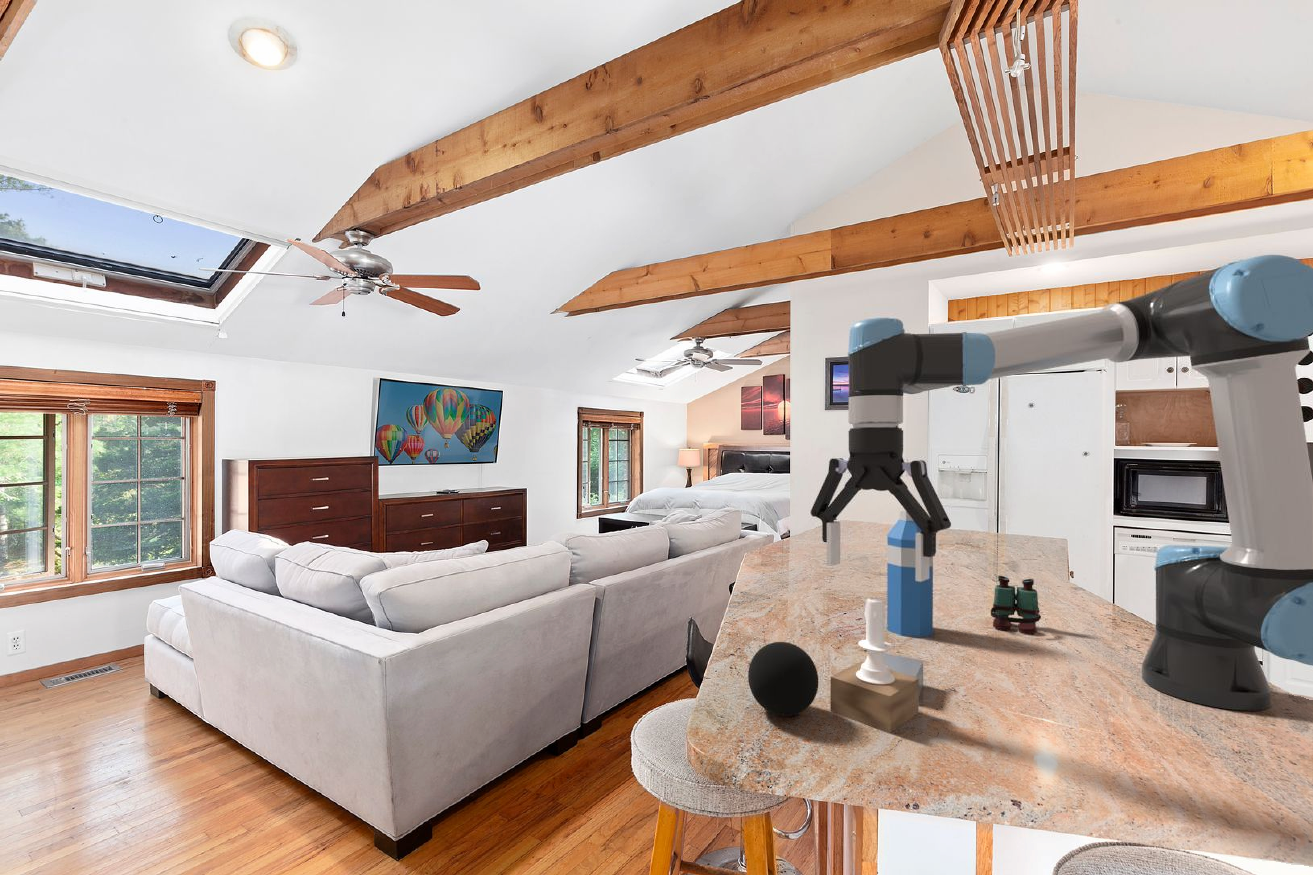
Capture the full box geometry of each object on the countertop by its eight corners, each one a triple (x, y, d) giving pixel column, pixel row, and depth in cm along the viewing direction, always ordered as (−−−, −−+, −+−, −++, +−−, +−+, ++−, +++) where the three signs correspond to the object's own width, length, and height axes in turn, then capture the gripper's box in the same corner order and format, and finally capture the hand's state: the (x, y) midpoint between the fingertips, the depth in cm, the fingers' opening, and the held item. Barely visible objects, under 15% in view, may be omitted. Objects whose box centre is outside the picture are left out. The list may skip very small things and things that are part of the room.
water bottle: (940, 629, 125) (940, 510, 125) (924, 640, 118) (925, 514, 118) (895, 620, 131) (896, 506, 131) (878, 630, 124) (878, 510, 124)
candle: (853, 680, 86) (853, 597, 86) (859, 668, 90) (859, 589, 90) (892, 688, 83) (893, 602, 83) (896, 674, 88) (897, 593, 88)
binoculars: (989, 585, 123) (992, 571, 131) (990, 635, 124) (992, 618, 132) (1041, 591, 118) (1040, 577, 126) (1041, 643, 119) (1040, 625, 127)
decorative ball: (833, 717, 85) (833, 647, 85) (781, 735, 80) (782, 661, 80) (783, 692, 94) (783, 628, 94) (734, 707, 88) (734, 639, 88)
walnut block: (918, 712, 87) (918, 678, 87) (890, 733, 81) (890, 696, 81) (860, 693, 93) (861, 661, 93) (830, 710, 87) (830, 676, 87)
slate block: (923, 684, 96) (923, 660, 97) (915, 703, 90) (915, 676, 90) (872, 674, 101) (872, 650, 101) (860, 691, 94) (860, 665, 94)
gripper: (976, 425, 80) (976, 582, 80) (814, 427, 99) (814, 555, 99) (955, 424, 75) (955, 592, 75) (788, 427, 94) (788, 562, 93)
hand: (875, 571), depth 87 cm, fingers open, 13 cm apart
